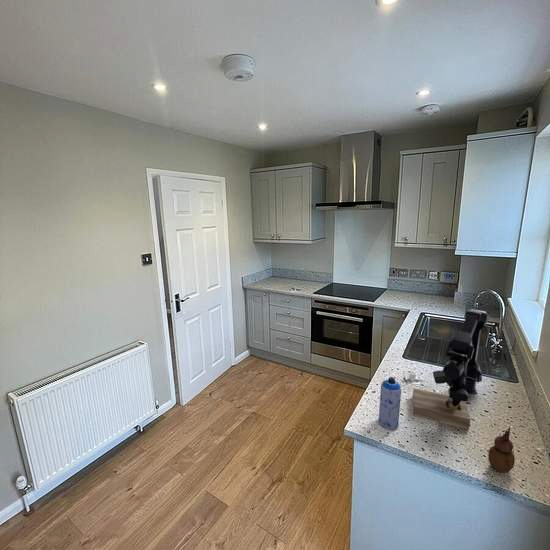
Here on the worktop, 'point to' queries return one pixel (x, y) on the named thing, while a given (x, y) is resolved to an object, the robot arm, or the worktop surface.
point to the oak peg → (452, 404)
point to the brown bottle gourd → (502, 453)
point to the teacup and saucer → (414, 377)
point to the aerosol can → (389, 404)
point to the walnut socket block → (439, 409)
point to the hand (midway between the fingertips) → (453, 402)
